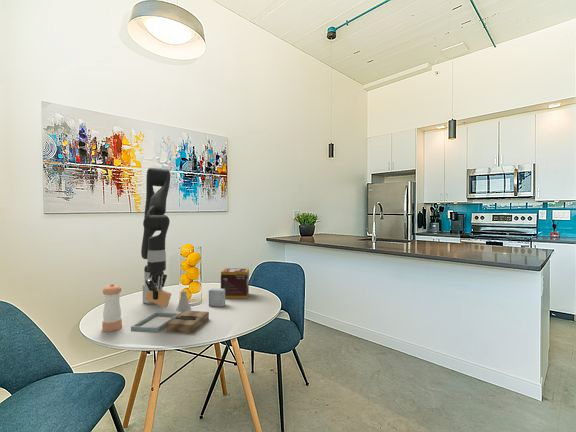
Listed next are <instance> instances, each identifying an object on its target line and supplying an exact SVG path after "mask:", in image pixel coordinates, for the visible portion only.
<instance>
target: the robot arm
mask: <svg viewBox="0 0 576 432" xmlns="http://www.w3.org/2000/svg"><path fill="white" fill-rule="evenodd" d="M145 178H146V181H145V182H146V187H145V189H146V190H145V191H146V193H145V206H144V217H143V218H144V219H143V222H142V224H143V235H142V242H141V251H140V255H141V258H142V259H143V260H147V264H146V265H145V266H144V267H143V268H144V269H143V270H144V272H143V273H144V277H143V278H144V280H143V281H144V282H143V283H144V284H143V285H142V303H144V304H146V305H152V304H153V305H154V304H155V305H156V303H153V302H151V301H148V300H146V296H147V293H148V290H149V291H153V299H154V300H157V299H158V289H161V290H163V288H164V287H165V284H166V280H167V277H168V275H167V274H164V273H165V271H166V269H167V253H166V239H167V238H166V237H167V233H168V230H169V226H170V218H169V217H168V216H167V215H166V212H167V197H168V194H169V190H170V183H171V171H170V170H169V169H166V168H159V167H152V166H151V167H148V168H147V171H146V177H145ZM154 187H160V188H159V189H158V190H157V191H156V192H155V190H154ZM157 231H158V232H160V233H159V234H157V235H154V234H155V233H156V232H157ZM151 287H152V288H151ZM155 287H156V288H155Z"/></svg>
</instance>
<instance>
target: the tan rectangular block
mask: <svg viewBox="0 0 576 432" xmlns="http://www.w3.org/2000/svg"><path fill="white" fill-rule="evenodd" d="M151 288H152V287H151ZM155 288H156V287H155ZM171 297H172V293H171V292H169V291H166V290H164V289H162V290H161V289H158V299H157V300H154V299H153V291H149V290H148V293H147V296H146V300H148V301H151V302H153V303H155V305H159V306H162V307H164V308H167V307H168V306H169V303H170V300H171Z"/></svg>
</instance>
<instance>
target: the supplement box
mask: <svg viewBox="0 0 576 432" xmlns="http://www.w3.org/2000/svg"><path fill="white" fill-rule="evenodd" d="M249 271H250V269H249V268H224V269H223V270H221V272H220V289H225V299H247V298H248V296H249V292H250V291H249V287H250V283H249V282H250V281H249V277H250V272H249Z"/></svg>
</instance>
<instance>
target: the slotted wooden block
mask: <svg viewBox="0 0 576 432" xmlns="http://www.w3.org/2000/svg"><path fill="white" fill-rule="evenodd" d="M209 313H210V312H209V311H200V310H188V311H186V310H184V311H183V312H179V314H178V315H177V316H175V317H174V318H172V317H171V318H172V319H171V318H170V319H171V320H170V321H168V320H167V321H168V322H167V323H166V327H165V333H177V334H178V333H181V334H195V333H196V331H197V330H199V329H200V327H203V326H204V325H205V323H207V322H208V321H209V319H210V317H209V316H210V315H209Z"/></svg>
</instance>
